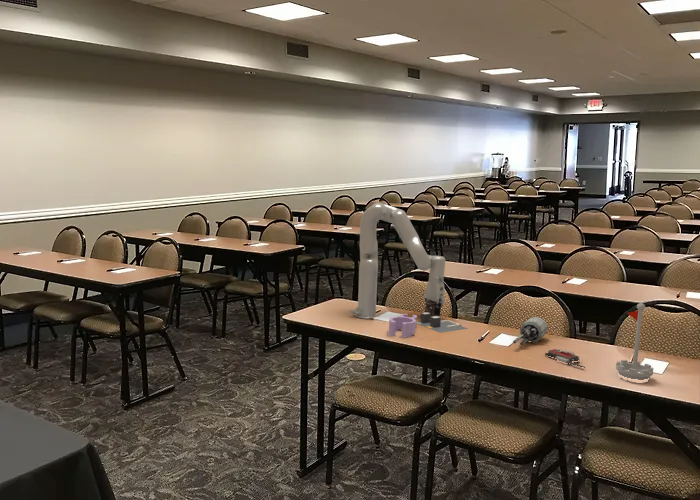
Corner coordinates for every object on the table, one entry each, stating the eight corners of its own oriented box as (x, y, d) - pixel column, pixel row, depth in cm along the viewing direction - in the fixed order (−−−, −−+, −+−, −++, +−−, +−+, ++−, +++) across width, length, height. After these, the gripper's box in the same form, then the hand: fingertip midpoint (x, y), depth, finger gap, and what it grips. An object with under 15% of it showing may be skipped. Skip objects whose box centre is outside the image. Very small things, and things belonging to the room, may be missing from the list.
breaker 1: (424, 323, 298) (424, 314, 297) (420, 321, 300) (420, 312, 300) (430, 322, 300) (430, 313, 300) (426, 320, 303) (426, 312, 302)
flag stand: (658, 380, 230) (667, 305, 226) (640, 386, 222) (649, 308, 218) (626, 370, 240) (634, 298, 236) (608, 376, 233) (616, 301, 229)
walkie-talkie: (541, 357, 254) (582, 371, 238) (542, 347, 253) (583, 360, 237) (553, 354, 259) (595, 367, 243) (554, 344, 259) (596, 357, 242)
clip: (398, 326, 296) (398, 312, 295) (422, 329, 291) (422, 316, 290) (384, 335, 278) (384, 321, 277) (409, 339, 273) (410, 325, 272)
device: (526, 334, 289) (527, 314, 287) (547, 338, 284) (548, 318, 282) (507, 350, 263) (509, 328, 261) (530, 354, 258) (532, 332, 256)
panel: (440, 335, 282) (440, 331, 282) (414, 325, 298) (414, 321, 298) (468, 330, 292) (468, 326, 291) (441, 321, 308) (441, 317, 308)
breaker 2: (434, 327, 290) (434, 318, 290) (430, 325, 293) (430, 316, 292) (440, 326, 293) (440, 317, 292) (436, 324, 295) (436, 315, 295)
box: (424, 314, 312) (425, 300, 311) (433, 313, 315) (435, 300, 314) (430, 317, 307) (432, 303, 306) (440, 316, 309) (441, 302, 308)
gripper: (452, 282, 303) (449, 316, 305) (430, 276, 317) (427, 308, 320) (441, 283, 299) (438, 317, 301) (419, 276, 313) (416, 309, 316)
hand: (432, 312), depth 311 cm, fingers closed on box, 6 cm apart
